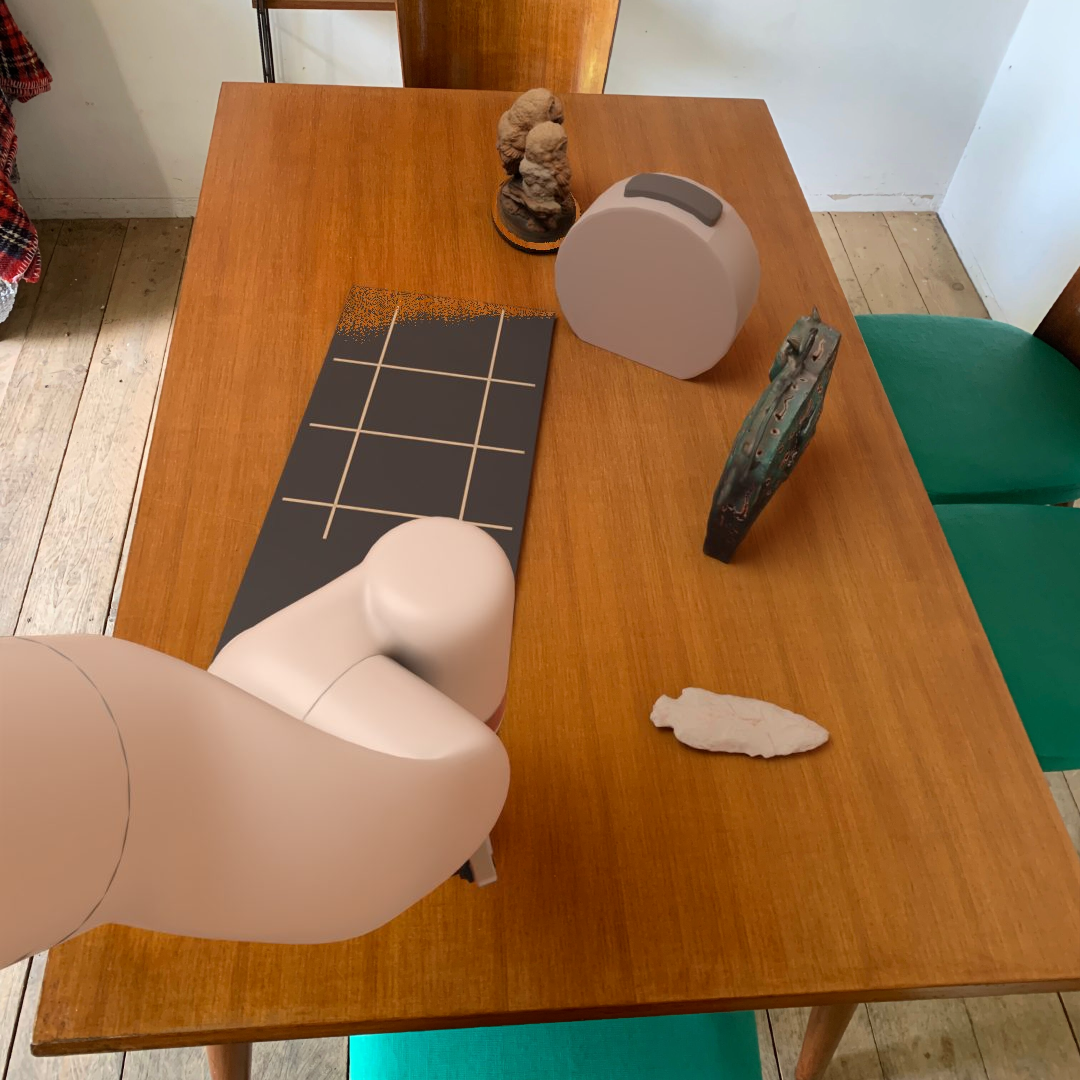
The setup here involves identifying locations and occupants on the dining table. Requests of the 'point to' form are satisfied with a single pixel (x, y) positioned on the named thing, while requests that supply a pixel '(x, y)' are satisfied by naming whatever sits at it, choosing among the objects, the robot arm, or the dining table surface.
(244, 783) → the robot arm
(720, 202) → the alarm clock
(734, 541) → the ceramic cat
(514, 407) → the board
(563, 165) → the owl figurine
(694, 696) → the stone tool
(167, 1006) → the dining table surface
